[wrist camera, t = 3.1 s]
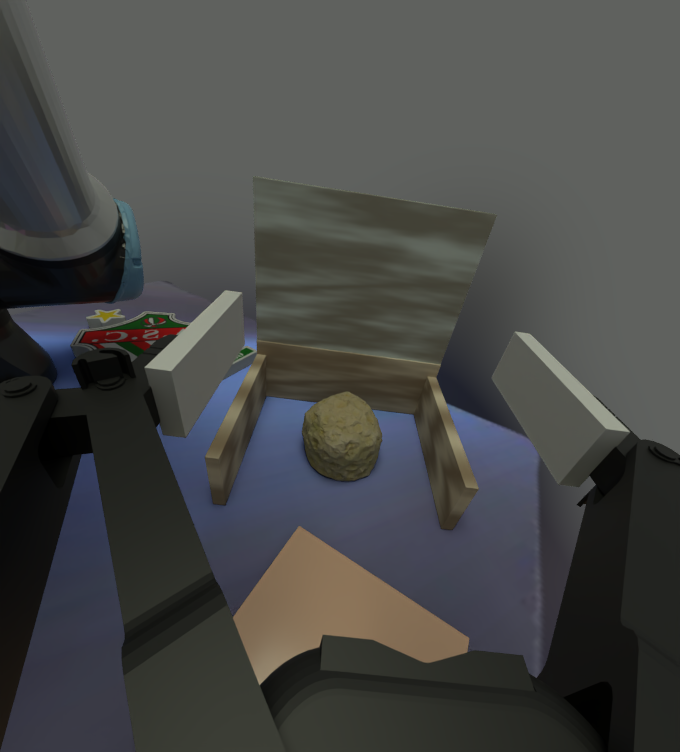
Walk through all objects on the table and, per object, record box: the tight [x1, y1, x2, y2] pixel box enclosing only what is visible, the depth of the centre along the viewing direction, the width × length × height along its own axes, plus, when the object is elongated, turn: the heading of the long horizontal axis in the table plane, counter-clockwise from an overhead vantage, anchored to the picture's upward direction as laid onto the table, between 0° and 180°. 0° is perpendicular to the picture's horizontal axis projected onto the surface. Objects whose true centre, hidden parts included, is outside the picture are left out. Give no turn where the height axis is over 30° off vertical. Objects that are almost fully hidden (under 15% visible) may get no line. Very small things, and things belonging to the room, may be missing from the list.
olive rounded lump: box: [302, 391, 382, 481], centre depth 37 cm, size 9×10×10 cm
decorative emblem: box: [70, 309, 257, 380], centre depth 51 cm, size 19×2×30 cm
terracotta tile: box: [233, 526, 469, 685], centre depth 21 cm, size 16×16×1 cm
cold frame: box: [205, 176, 497, 530], centre depth 31 cm, size 19×24×27 cm
